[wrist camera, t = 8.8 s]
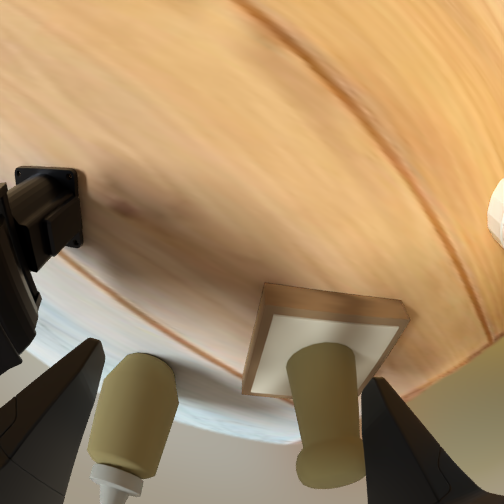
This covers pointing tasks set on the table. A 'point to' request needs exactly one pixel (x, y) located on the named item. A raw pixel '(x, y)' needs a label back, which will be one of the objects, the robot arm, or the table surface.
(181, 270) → the table surface
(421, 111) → the table surface
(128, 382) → the squeeze bottle
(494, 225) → the white cup
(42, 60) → the table surface
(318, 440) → the cork
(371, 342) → the walnut picture frame
